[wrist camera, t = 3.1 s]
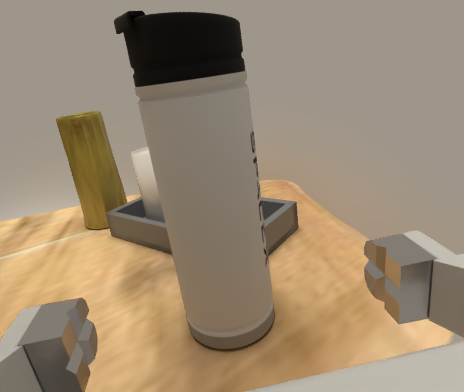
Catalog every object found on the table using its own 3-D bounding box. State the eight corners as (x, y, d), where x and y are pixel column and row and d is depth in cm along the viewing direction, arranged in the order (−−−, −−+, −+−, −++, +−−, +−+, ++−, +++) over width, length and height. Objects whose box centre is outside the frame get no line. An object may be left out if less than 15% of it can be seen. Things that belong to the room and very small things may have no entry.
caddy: (111, 235, 42) (105, 213, 41) (170, 204, 49) (166, 185, 48) (246, 276, 30) (241, 245, 29) (298, 227, 37) (296, 201, 36)
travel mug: (169, 322, 25) (96, 27, 19) (238, 282, 29) (197, 22, 22) (218, 371, 21) (143, -2, 14) (293, 316, 24) (263, -2, 17)
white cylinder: (139, 226, 42) (121, 154, 39) (170, 209, 45) (156, 143, 42) (168, 233, 38) (151, 156, 35) (199, 215, 42) (186, 143, 39)
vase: (89, 234, 43) (53, 120, 38) (82, 220, 48) (49, 118, 43) (136, 219, 46) (108, 110, 41) (125, 207, 51) (99, 109, 46)
